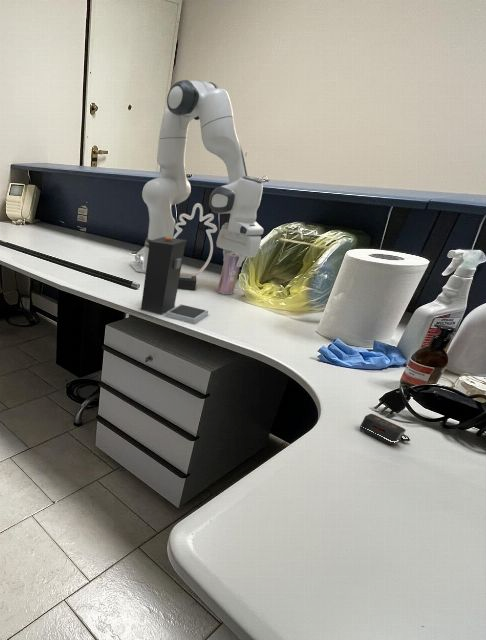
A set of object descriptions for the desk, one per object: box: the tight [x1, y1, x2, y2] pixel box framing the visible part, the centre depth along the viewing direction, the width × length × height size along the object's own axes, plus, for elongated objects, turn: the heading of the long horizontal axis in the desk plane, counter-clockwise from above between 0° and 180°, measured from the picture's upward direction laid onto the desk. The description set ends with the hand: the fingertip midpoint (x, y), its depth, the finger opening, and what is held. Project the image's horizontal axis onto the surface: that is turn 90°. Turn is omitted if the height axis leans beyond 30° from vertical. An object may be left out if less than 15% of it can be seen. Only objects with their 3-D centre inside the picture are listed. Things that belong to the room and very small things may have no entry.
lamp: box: [173, 202, 218, 291], centre depth 160 cm, size 17×9×32 cm, turn 73°
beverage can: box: [217, 251, 241, 295], centre depth 158 cm, size 6×6×15 cm
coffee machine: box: [140, 237, 209, 324], centre depth 135 cm, size 20×11×24 cm, turn 49°
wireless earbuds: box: [359, 413, 411, 446], centre depth 80 cm, size 5×7×3 cm, turn 27°
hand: (231, 264), depth 156 cm, fingers closed on beverage can, 6 cm apart
